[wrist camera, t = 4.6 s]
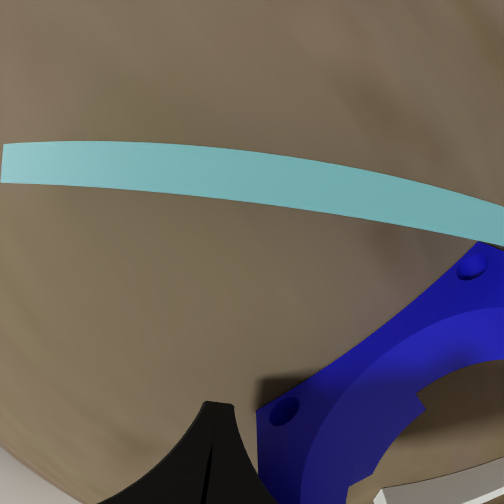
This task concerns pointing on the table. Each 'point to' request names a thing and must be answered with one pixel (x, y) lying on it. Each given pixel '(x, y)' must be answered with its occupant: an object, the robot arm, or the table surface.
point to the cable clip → (380, 385)
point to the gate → (253, 182)
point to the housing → (450, 487)
